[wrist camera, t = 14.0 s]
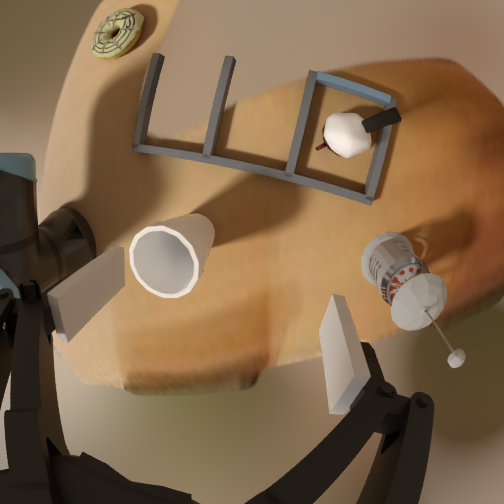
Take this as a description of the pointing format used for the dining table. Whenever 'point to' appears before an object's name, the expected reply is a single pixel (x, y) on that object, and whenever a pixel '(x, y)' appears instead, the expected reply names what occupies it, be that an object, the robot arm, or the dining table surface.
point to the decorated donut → (127, 37)
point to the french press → (406, 285)
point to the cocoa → (354, 131)
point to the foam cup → (172, 254)
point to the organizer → (297, 139)
